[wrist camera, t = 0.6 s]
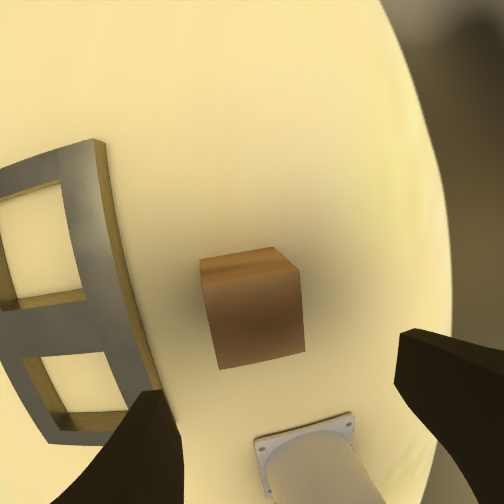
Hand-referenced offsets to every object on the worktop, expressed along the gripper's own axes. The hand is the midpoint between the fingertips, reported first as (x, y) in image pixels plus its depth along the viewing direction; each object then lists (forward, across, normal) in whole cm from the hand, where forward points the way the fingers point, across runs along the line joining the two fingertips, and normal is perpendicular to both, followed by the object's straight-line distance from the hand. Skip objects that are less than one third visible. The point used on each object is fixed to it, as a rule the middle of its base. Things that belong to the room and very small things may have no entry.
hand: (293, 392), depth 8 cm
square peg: (+10, 0, 0) cm, 10 cm away
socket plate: (+9, +11, 0) cm, 14 cm away
